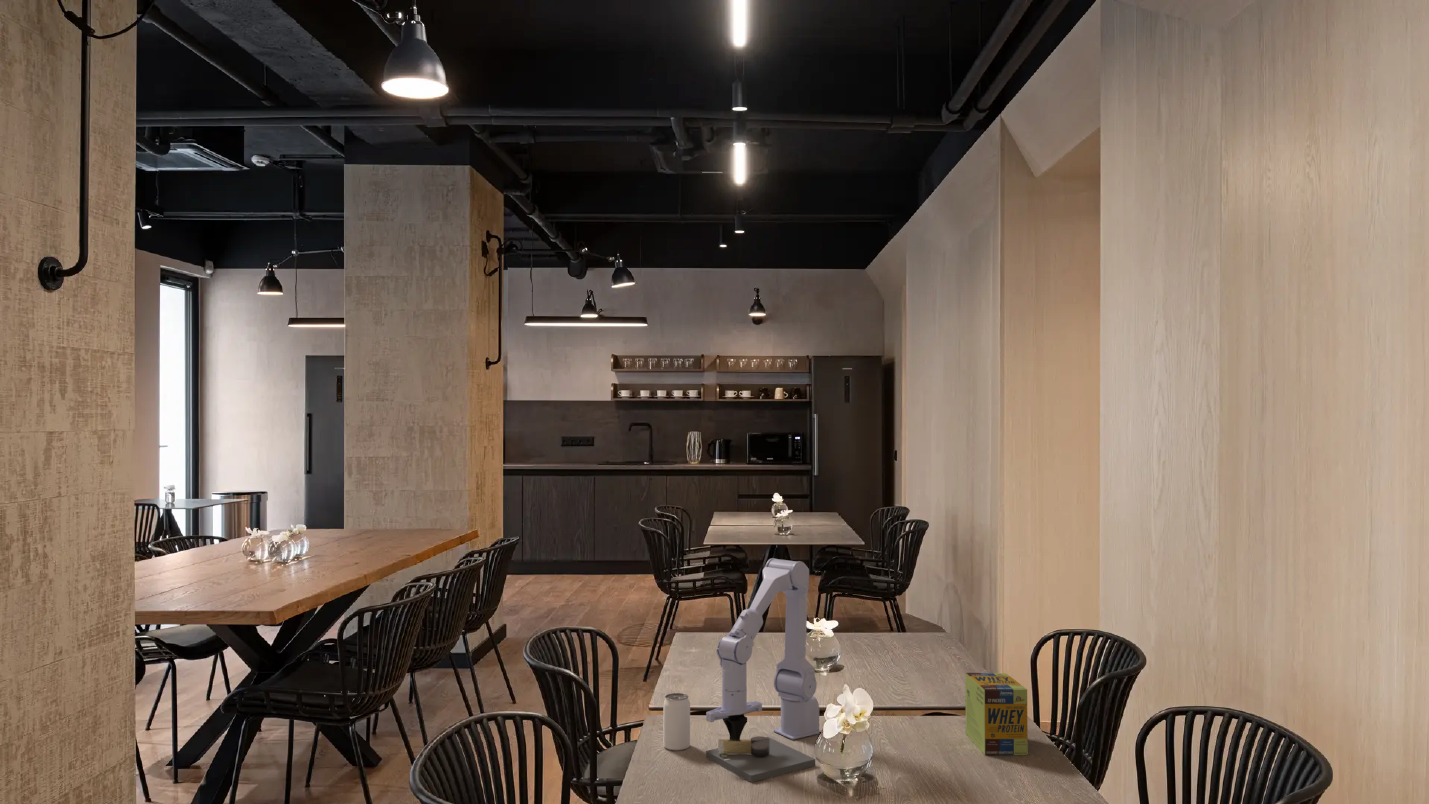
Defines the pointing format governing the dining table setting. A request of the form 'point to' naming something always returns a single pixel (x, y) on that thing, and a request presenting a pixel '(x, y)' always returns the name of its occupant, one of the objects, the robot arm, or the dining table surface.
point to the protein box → (996, 713)
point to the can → (676, 722)
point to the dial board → (763, 762)
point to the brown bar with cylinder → (745, 746)
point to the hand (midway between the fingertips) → (734, 747)
